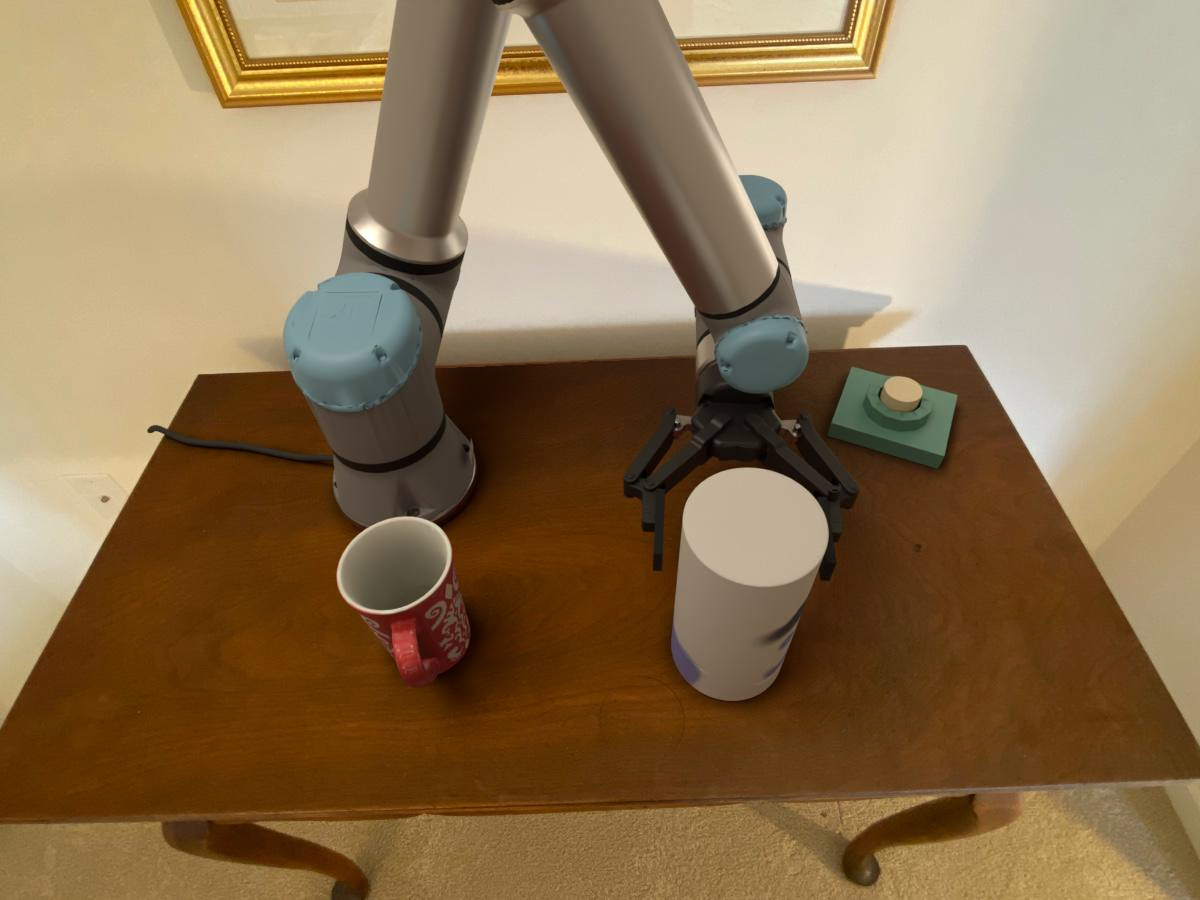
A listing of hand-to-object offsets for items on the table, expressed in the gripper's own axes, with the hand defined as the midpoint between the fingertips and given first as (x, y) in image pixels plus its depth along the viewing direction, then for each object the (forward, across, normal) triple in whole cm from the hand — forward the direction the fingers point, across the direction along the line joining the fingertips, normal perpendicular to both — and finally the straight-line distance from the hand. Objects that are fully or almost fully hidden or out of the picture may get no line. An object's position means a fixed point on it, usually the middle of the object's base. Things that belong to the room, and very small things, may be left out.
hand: (742, 567), depth 57 cm
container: (+2, 0, -11) cm, 11 cm away
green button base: (-27, -19, -11) cm, 35 cm away
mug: (+5, +27, -11) cm, 29 cm away
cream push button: (-27, -19, -7) cm, 34 cm away
